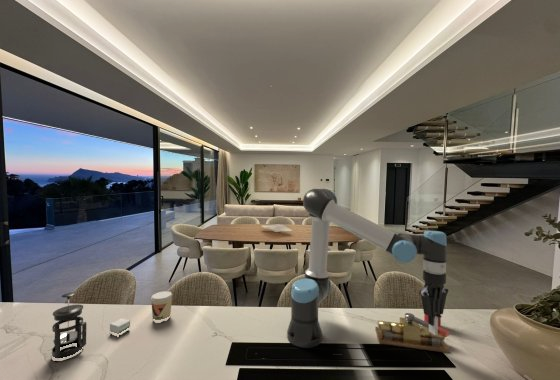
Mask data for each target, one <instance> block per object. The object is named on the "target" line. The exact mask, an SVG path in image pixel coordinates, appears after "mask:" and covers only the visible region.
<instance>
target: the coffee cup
mask: <svg viewBox="0 0 560 380" xmlns="http://www.w3.org/2000/svg"><path fill="white" fill-rule="evenodd" d="M150 299H151V300H150V301H151V314H152V320H153V319H155V320H161V319H165V318H167V317H169V316H170V317H171V315H170V314H172V302H173V301H172V300H173V293H172V292H171V291H165V290H163V291H159V292H156V293H154V294H152V295H151V297H150Z"/></svg>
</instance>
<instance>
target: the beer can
mask: <svg viewBox="0 0 560 380" xmlns="http://www.w3.org/2000/svg"><path fill="white" fill-rule="evenodd" d="M423 314H424V313H423ZM440 315H441V316H442V314H440ZM423 321H426V322H428V315H426V314H424V317H423ZM441 325H442V317H441V318H440V317H439V318H438V326H439V327H441ZM441 328H442V327H441Z"/></svg>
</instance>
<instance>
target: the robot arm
mask: <svg viewBox="0 0 560 380" xmlns="http://www.w3.org/2000/svg"><path fill="white" fill-rule="evenodd" d="M302 204H303V209H305V211H306V212H307V213H308V216H309V218H310V220H311V230H310V231H311V232H310V242H309V244H310V245H309V255H308V256H309V258H308V268H307V269H306V270H305V271H304V278H301V279H297V280H295V281H294V282H293V284H291V291H290V295H291V296H290V300H291V309H290V310H291V312H290V313H291V314H290V321H289V325H288V328H287V330H286V338H287V341H288V342H289V343H291V344H292V345H293V346H295V347H297V348H303V349H305V348H306V349H310V348H314V347H317V346H318V345H320V344H321V343H322V342H323V331H322V328H321V326H320V322H319V306H320V304H322V302H323V301H324V300H325V299H326V298H327V297H328V296H329V294H330V292H331V291H332V290H331V289H332V282H331V280H330V272H328V271H327V267H328V266H327V265H328V255H329V243H330V241H329V239H330V238H329V237H330V227H331V223H333V224H334V225H337V226H338V227H340V228H342V229H344V230H346V231H348V232H349V233H351V234H353V235H355V236H357V237H359V238H361V239H362V240H364V241H366V242H368V243H370V244H372V245H374V246H375V247H377V248H379V249H381V250H382V251H385V252H387V253H389V254H390V255H392V256H393V258H395V260H397V261H398V262H400V263H403V264H408V263H411V262H413V261H414V260H415V259H416V256H417V255H421V256H423V259H422V269H423V271H422V280H423V281H424V286H423V289H422V290H421V289H420V290H419V291H418V292H419V295H420V297H421V298H420V299H421V305H422V310H423V314H426V315H428V324H429V332H431V333H432V334H434V335H438V318H439V317H440V318H441V319H442V316H443V314H444V310H445V305H446V299H447V295H448V293H449V289H448V288H446V287H445V284H447V274H446V272H447V246H448V245H447V234H446V233H445V232H443V231H440V230H439V231H438V230H424V231H423V233H422V234H420V235H419V234H409V233H401V232H398V233H397V232H393V231H392V230H389V229H387V228H385V227H383V226H382V225H379V224H378V223H375V222H373V221H372V220H369V219H368V218H365V217H363V216H362V215H360V214H357V213H355V212H353V211H351V210H349V209H348V208H345V207H343V206H341V205H339V204H338V198H337V196H336V194H335V193H334V192H333V191H332V190H329V189H327V188H312V189H309V190H308V191H307V192H305V194H304V196H303V198H302ZM440 314H441V315H440Z"/></svg>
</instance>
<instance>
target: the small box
mask: <svg viewBox="0 0 560 380" xmlns="http://www.w3.org/2000/svg"><path fill="white" fill-rule="evenodd" d="M129 327H130V328H131V320H129V319H128V318H124V317H121V318H119V319H117V320H115V321H113V322H111V323H109V332H110V331H111V332H114V333H117V334H119V333H121V332H122V331H124V330H126V329H127V328H129Z"/></svg>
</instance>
